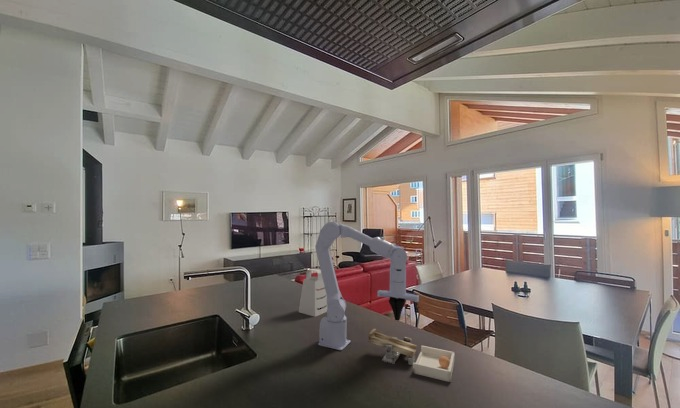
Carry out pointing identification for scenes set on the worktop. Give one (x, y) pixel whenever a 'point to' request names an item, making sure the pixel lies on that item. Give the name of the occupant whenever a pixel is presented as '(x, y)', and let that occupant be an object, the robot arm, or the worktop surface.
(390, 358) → the pivot base
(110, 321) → the worktop surface
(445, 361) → the egg
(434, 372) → the dish
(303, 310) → the grater
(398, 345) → the lever
